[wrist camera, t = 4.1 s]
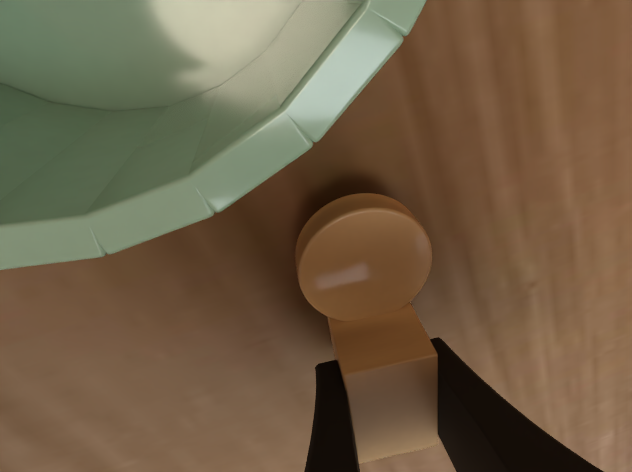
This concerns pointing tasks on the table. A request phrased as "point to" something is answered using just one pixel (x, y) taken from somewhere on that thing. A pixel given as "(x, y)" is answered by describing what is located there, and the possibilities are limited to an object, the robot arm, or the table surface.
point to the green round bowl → (166, 109)
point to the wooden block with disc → (375, 318)
